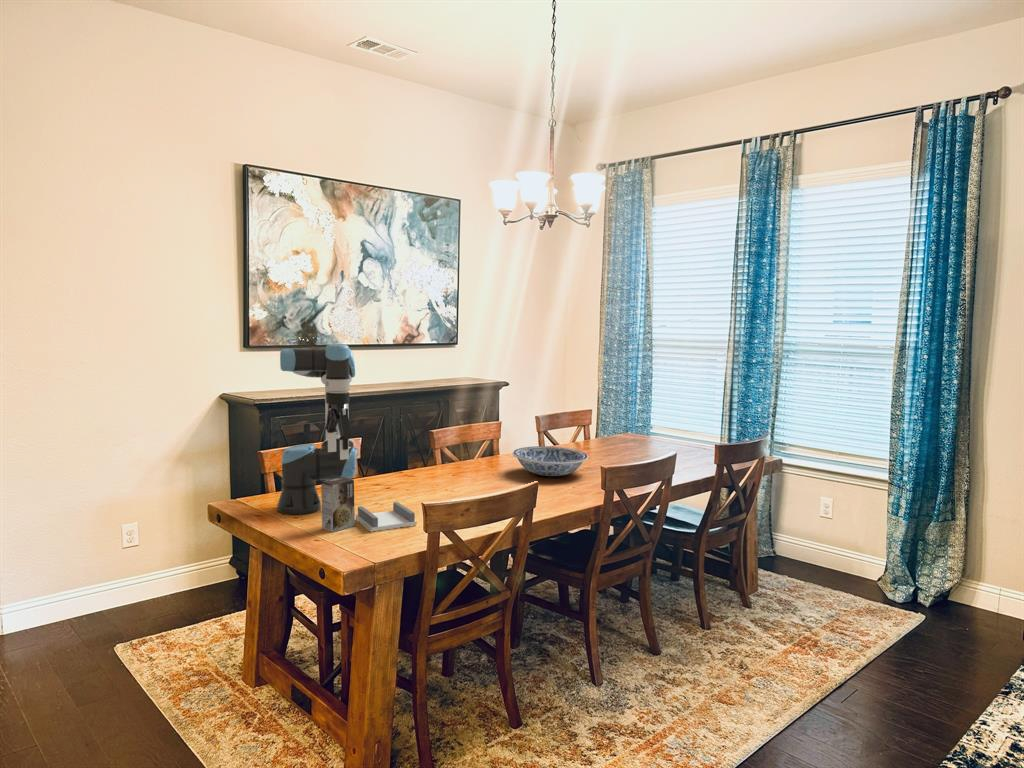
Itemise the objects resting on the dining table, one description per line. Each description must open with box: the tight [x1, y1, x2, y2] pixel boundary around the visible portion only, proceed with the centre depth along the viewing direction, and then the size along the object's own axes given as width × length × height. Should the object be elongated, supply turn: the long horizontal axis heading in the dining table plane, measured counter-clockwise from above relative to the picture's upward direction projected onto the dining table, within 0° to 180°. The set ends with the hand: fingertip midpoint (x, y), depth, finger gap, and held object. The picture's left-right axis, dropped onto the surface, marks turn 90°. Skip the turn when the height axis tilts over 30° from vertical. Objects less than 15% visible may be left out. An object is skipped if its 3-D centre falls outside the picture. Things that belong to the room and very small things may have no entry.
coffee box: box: [320, 477, 356, 533], centre depth 236 cm, size 9×6×16 cm
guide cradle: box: [355, 501, 417, 533], centre depth 243 cm, size 16×16×4 cm
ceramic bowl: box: [512, 445, 589, 477], centre depth 321 cm, size 34×34×10 cm
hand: (338, 455), depth 234 cm, fingers open, 13 cm apart
